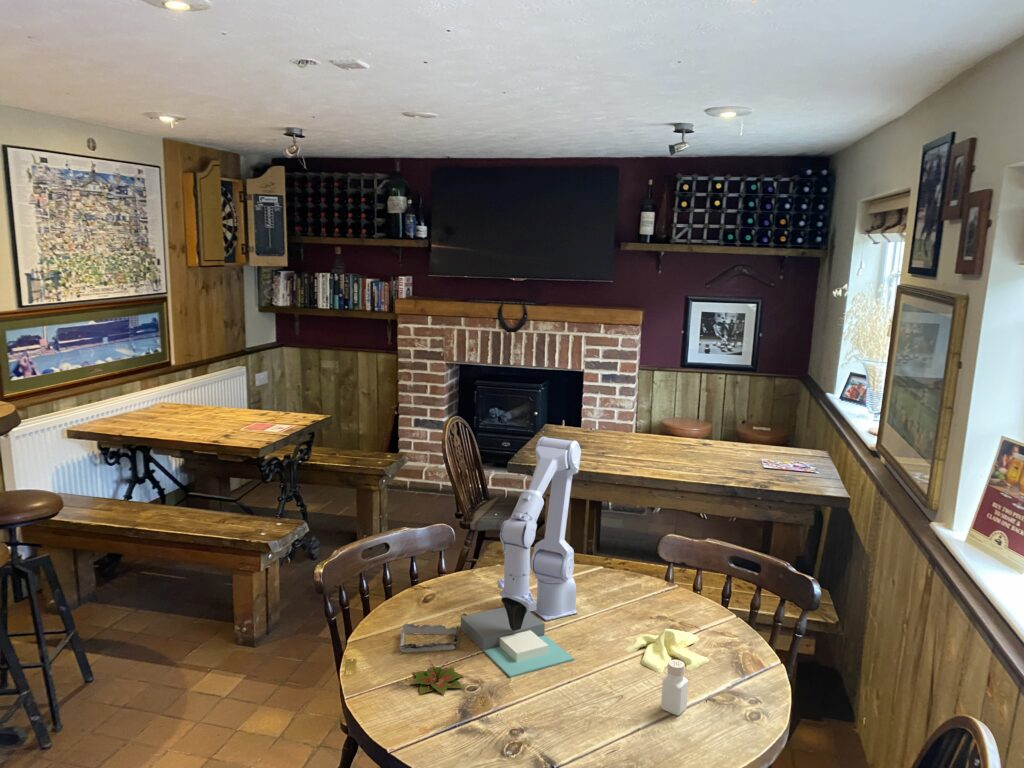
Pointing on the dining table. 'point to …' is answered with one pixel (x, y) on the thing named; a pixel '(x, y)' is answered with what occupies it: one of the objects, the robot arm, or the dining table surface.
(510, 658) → the drip mat
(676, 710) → the pepper shaker
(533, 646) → the coaster
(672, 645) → the cloth
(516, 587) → the robot arm
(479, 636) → the riser
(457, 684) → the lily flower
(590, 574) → the dining table surface
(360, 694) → the dining table surface
